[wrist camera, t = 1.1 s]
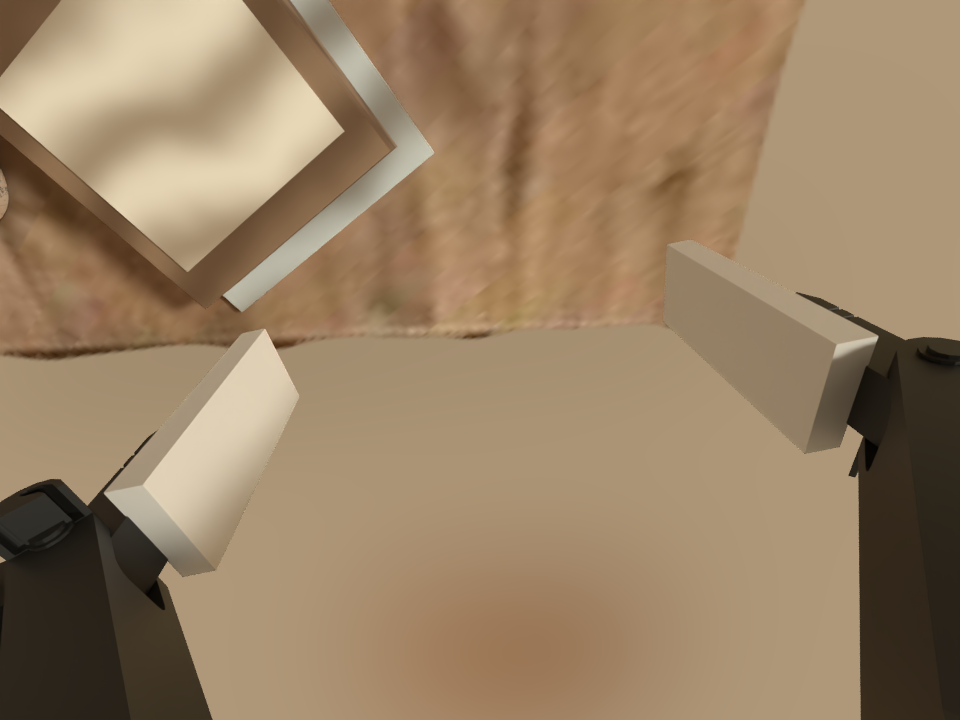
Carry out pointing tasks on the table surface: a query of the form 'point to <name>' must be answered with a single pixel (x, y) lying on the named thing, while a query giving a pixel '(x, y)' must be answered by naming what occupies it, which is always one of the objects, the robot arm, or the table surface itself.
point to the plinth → (205, 128)
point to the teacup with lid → (3, 194)
